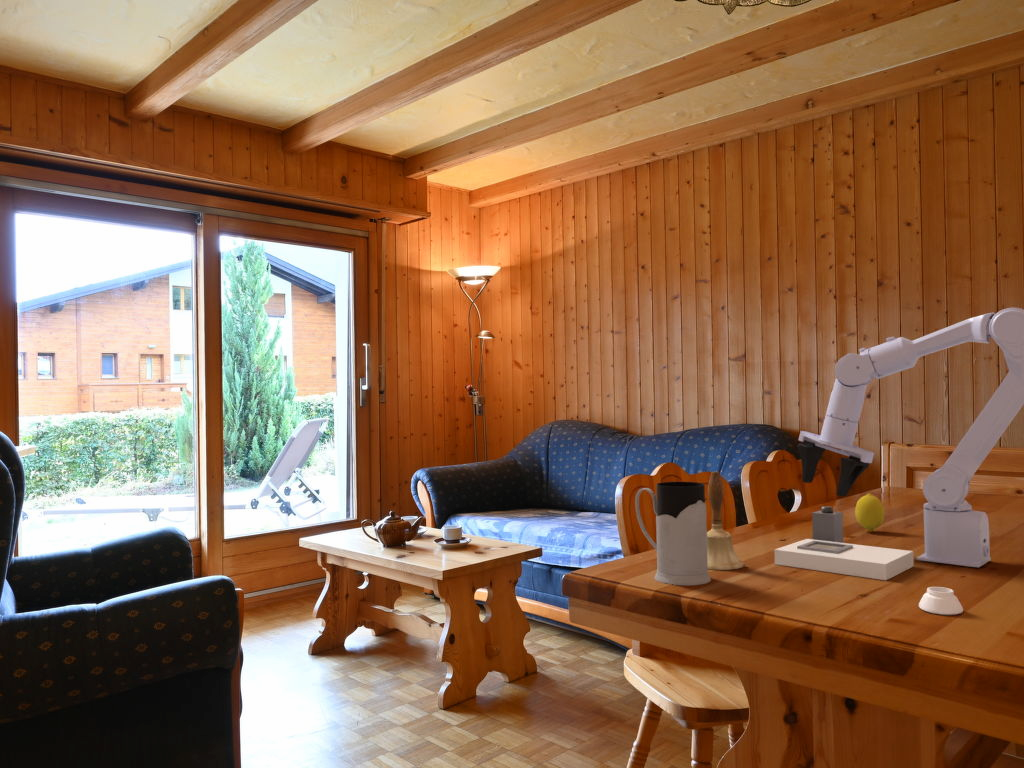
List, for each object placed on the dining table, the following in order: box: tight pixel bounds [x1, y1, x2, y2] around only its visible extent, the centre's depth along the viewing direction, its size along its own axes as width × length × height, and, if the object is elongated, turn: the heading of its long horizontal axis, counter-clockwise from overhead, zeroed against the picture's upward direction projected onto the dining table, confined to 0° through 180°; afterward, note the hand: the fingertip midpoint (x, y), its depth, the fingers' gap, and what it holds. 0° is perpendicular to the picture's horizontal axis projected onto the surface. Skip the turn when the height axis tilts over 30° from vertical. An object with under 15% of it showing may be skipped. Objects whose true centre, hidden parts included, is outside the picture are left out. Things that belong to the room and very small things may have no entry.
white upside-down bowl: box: [918, 586, 964, 616], centre depth 101 cm, size 5×3×5 cm
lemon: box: [854, 493, 885, 533], centre depth 160 cm, size 6×6×8 cm
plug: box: [811, 505, 844, 543], centre depth 142 cm, size 4×4×8 cm
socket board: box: [774, 538, 915, 581], centre depth 129 cm, size 18×13×3 cm
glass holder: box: [634, 481, 712, 586], centre depth 124 cm, size 9×14×15 cm, turn 36°
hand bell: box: [707, 471, 745, 571], centre depth 131 cm, size 8×8×16 cm
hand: (823, 488), depth 143 cm, fingers open, 7 cm apart
